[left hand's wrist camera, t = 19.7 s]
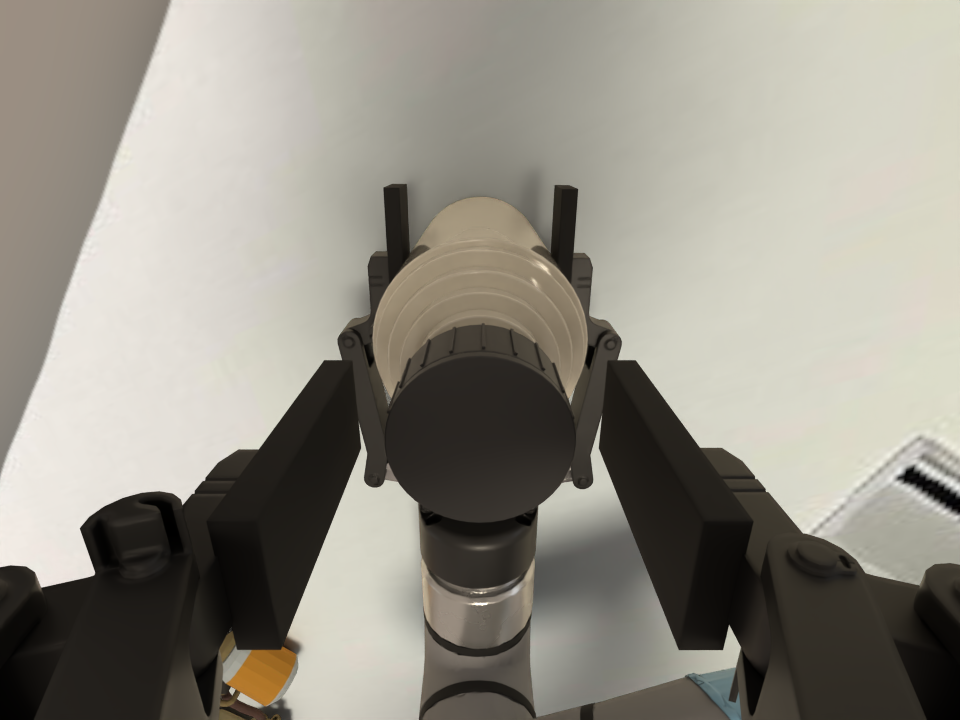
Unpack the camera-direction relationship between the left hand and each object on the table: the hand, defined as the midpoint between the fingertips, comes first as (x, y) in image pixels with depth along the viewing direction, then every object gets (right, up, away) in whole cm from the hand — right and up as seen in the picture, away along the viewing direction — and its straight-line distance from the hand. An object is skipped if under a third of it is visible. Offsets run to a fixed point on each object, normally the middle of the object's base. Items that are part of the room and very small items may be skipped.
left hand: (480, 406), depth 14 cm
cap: (0, -1, -2) cm, 2 cm away
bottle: (0, +8, +19) cm, 21 cm away
